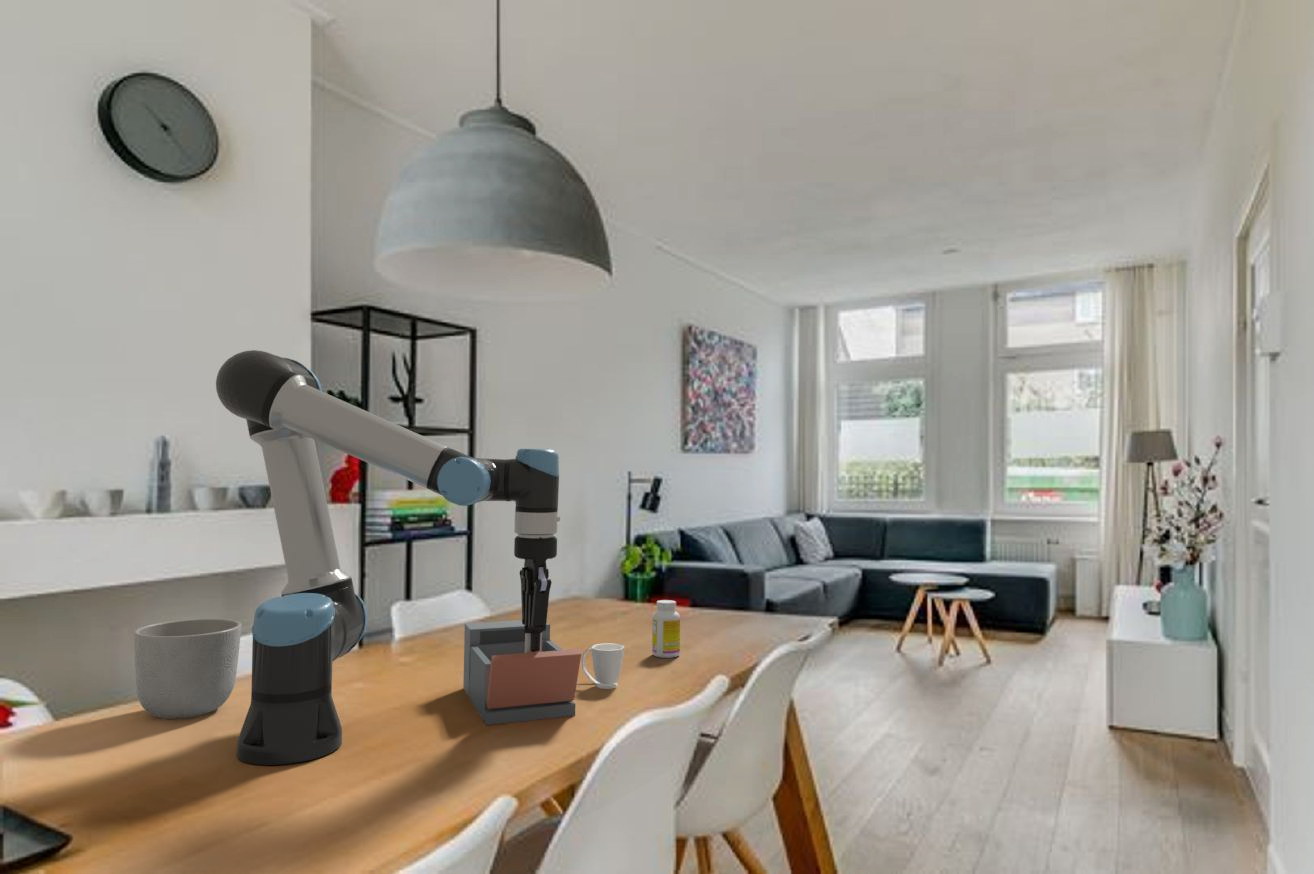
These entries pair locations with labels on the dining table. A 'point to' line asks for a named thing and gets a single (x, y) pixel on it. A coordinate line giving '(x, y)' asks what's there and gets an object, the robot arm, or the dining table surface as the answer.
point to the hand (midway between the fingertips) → (532, 668)
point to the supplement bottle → (666, 630)
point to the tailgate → (533, 678)
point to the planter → (186, 666)
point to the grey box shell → (492, 638)
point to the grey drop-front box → (478, 696)
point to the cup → (605, 664)
